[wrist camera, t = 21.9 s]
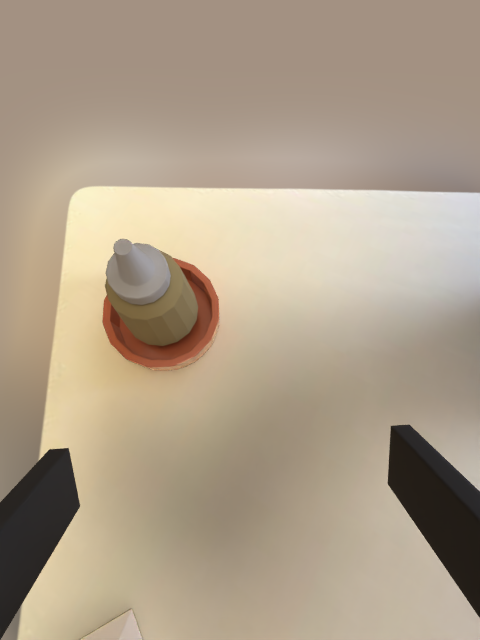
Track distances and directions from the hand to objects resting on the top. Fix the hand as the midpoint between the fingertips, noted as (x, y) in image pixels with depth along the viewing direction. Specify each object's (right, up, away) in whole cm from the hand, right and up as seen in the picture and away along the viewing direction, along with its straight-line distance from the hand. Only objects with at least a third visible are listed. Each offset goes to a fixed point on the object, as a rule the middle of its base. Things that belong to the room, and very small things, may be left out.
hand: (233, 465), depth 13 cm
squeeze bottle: (-9, +6, +25) cm, 27 cm away
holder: (-9, +6, +25) cm, 27 cm away
